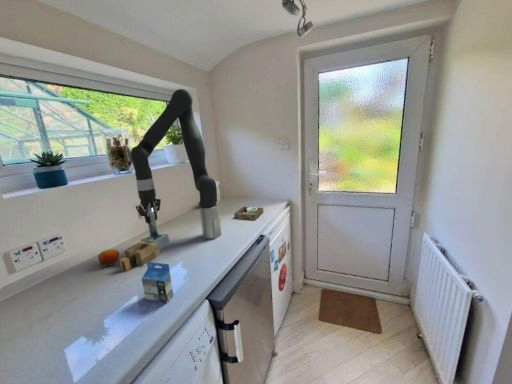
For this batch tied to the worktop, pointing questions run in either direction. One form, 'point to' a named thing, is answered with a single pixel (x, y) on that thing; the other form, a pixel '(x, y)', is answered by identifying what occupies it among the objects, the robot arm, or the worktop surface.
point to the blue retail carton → (157, 283)
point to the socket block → (143, 252)
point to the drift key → (128, 262)
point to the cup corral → (248, 216)
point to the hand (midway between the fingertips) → (151, 221)
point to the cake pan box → (218, 192)
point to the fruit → (108, 257)
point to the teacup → (252, 210)
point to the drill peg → (152, 223)
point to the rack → (158, 240)
